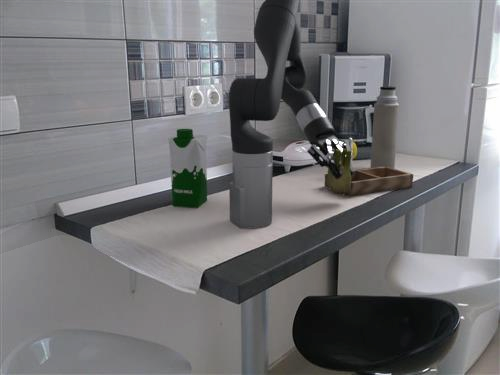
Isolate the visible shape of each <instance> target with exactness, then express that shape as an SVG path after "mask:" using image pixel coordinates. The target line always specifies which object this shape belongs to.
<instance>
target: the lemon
mask: <svg viewBox="0 0 500 375" xmlns="http://www.w3.org/2000/svg"><path fill="white" fill-rule="evenodd" d="M347 141H348V142H349V140H347ZM352 145H353V146H352V147H353V148H352V149H353V150H352V151H353V152H352V156H353V157H352V160H354V159H355V158H357V157H356V156H357V154H358V148H357V144H356V143H355V142H354V141H352Z"/></svg>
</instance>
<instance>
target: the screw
mask: <svg viewBox="0 0 500 375" xmlns="http://www.w3.org/2000/svg"><path fill="white" fill-rule="evenodd" d="M348 141H349V142H348V143H349V147H350V150H351V154H352V152H353V151H352V150H353V149H352V148H353V147H352V146H353V145H352V142H353V138H352V137H349V138H348ZM352 157H353V156H352ZM350 165H351V166H353V159H352V158H351V159H350Z"/></svg>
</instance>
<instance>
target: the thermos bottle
mask: <svg viewBox="0 0 500 375" xmlns="http://www.w3.org/2000/svg"><path fill="white" fill-rule="evenodd" d="M399 111H400V104H399V103H398V96H396V87H395V86H390V85H389V86H388V85H387V86H386V85H385V86H379V95H378V96H376V102H375V103H374V105H373V119H372V120H373V122H372V136H371V152H370V166H369V168H376V167H384V166H386V167H390V168H393V169H396V168H395V163H396V152H397V142H398V141H397V139H398V126H399V123H398V122H399V113H400V112H399Z"/></svg>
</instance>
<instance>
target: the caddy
mask: <svg viewBox="0 0 500 375" xmlns="http://www.w3.org/2000/svg"><path fill="white" fill-rule="evenodd" d="M353 170H354V174H353V175H352V176H351V188H350V190H349V191H348V192H347V193H345V194H344V195H343V196H345V197H348V196H349V197H348V198H351V197H352V196H353V197H357V196H358V197H359V196H365V195H370V194H371V195H372V194H377V193H378V194H379V193H384V192H390V191H398V190H402V189H403V190H404V189H410V188H413V182H414V181H413V180H414V174H413V173H411V172H410V173H409V172H407V171H403V170H399V169H397V168H394V169H393V168H390V167H386V166H384V167H376V168H370V167H369V168H362V169H353ZM326 187H327V188H326ZM324 188H326V189H328V188H329V185H328V173H325V174H324Z"/></svg>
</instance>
